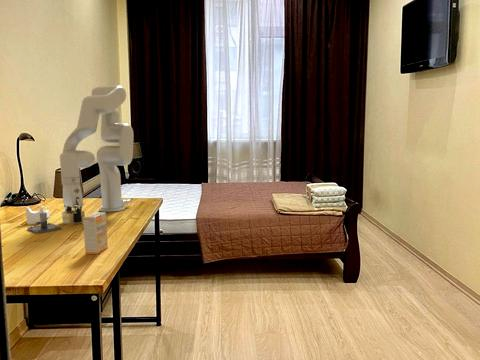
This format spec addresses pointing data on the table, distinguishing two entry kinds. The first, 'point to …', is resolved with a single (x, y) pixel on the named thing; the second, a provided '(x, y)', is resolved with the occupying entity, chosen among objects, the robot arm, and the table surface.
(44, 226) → the peg base plate
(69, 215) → the collar
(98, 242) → the supplement box
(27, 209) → the bracket
